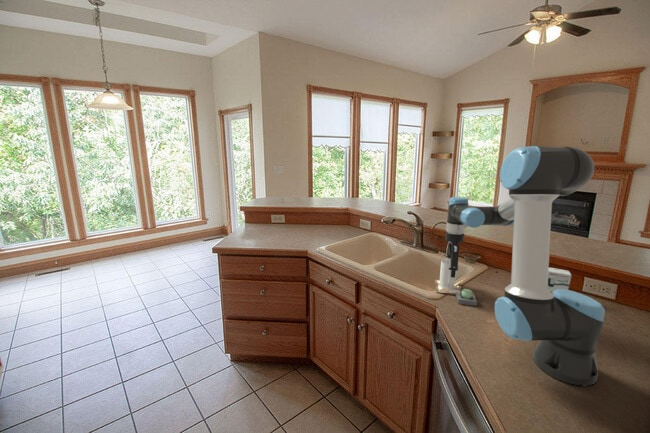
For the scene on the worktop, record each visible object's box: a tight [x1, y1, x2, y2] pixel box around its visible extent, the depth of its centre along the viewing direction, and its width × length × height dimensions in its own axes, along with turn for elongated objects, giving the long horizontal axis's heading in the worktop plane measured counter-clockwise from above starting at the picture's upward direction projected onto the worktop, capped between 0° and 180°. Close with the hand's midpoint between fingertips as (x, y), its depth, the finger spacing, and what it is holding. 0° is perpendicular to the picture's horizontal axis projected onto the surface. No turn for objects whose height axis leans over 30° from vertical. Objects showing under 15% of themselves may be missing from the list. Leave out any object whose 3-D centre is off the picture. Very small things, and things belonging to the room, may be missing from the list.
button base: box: [455, 291, 478, 307], centre depth 128 cm, size 7×7×2 cm
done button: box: [461, 288, 473, 300], centre depth 127 cm, size 4×4×3 cm
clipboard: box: [434, 279, 463, 297], centre depth 139 cm, size 13×11×1 cm
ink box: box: [548, 267, 572, 294], centre depth 132 cm, size 9×5×12 cm, turn 62°
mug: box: [439, 259, 460, 290], centre depth 138 cm, size 10×7×12 cm, turn 115°
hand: (449, 277), depth 137 cm, fingers open, 13 cm apart
